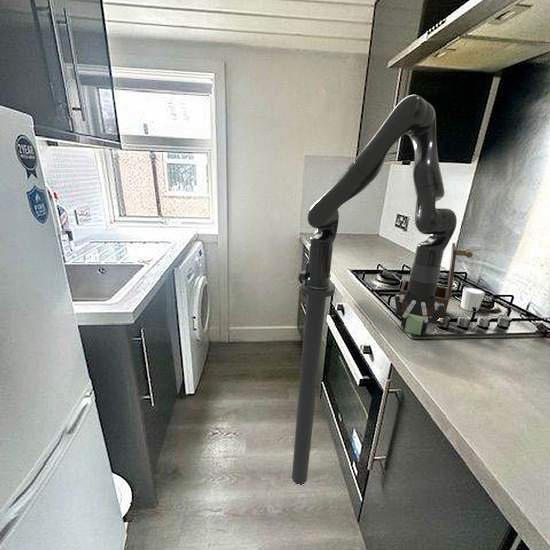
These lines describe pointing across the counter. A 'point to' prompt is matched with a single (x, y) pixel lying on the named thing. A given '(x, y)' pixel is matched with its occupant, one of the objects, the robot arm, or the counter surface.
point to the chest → (440, 297)
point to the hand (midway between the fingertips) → (412, 329)
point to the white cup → (471, 298)
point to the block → (414, 324)
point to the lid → (452, 264)
